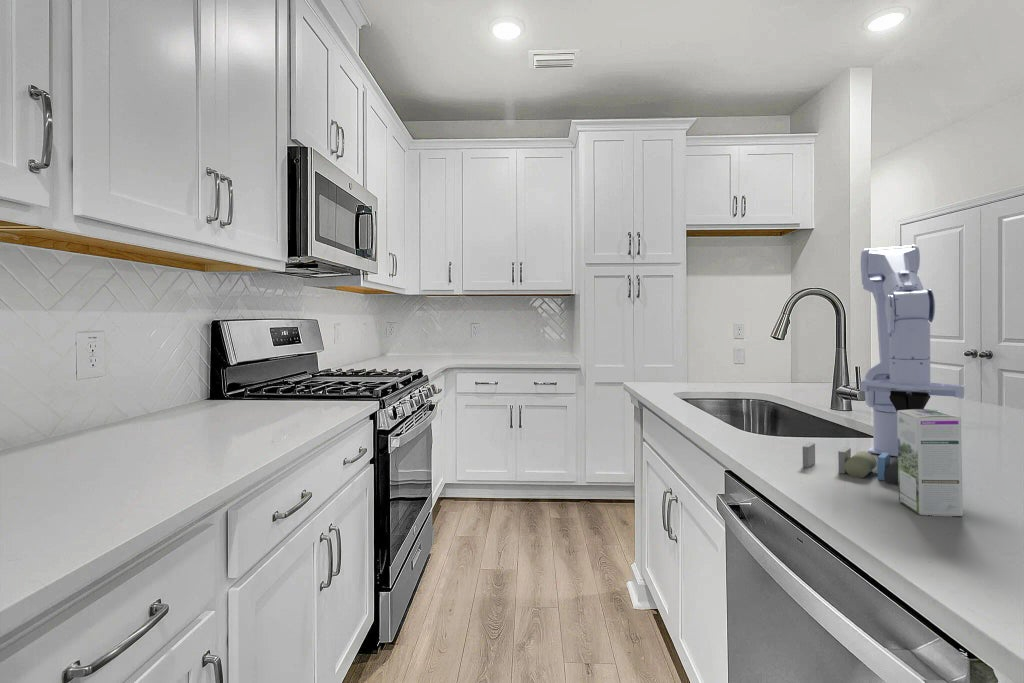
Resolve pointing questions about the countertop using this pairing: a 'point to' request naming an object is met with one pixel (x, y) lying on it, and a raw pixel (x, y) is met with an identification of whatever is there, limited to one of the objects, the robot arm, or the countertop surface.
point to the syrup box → (930, 462)
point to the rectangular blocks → (844, 459)
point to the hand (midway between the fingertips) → (909, 434)
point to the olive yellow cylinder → (860, 464)
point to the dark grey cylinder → (892, 472)
